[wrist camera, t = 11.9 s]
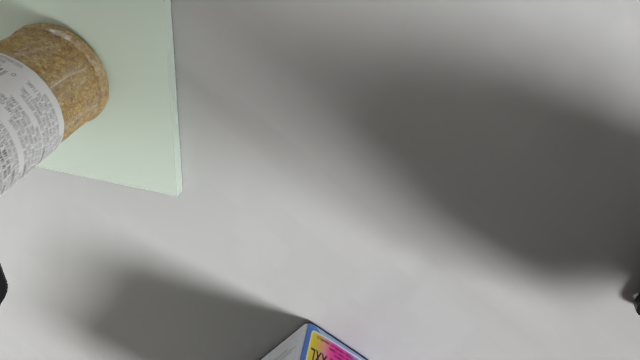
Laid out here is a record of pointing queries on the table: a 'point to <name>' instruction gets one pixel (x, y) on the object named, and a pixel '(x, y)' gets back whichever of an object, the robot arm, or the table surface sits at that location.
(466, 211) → the table surface
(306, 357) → the ink cartridge box
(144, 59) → the pad
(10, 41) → the sprinkles bottle
